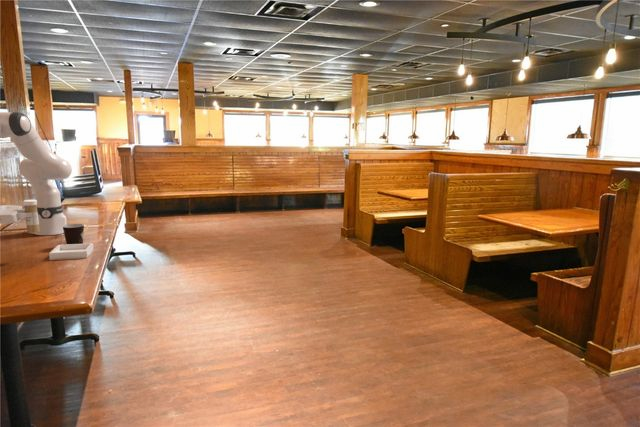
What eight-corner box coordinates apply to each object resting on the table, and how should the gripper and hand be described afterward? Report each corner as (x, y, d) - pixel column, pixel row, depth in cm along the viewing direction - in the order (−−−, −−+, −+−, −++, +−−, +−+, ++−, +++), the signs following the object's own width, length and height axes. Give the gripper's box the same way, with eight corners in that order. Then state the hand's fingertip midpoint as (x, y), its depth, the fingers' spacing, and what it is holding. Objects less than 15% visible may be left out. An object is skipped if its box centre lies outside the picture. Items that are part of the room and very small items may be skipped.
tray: (58, 251, 192) (58, 244, 192) (93, 249, 197) (93, 243, 196) (49, 260, 179) (49, 253, 179) (87, 258, 183) (86, 251, 183)
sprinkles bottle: (24, 232, 177) (20, 200, 174) (35, 230, 181) (31, 198, 178) (31, 233, 175) (27, 201, 173) (42, 231, 179) (39, 199, 177)
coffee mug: (76, 249, 196) (74, 228, 194) (59, 248, 198) (58, 226, 196) (94, 243, 207) (92, 223, 205) (78, 242, 209) (77, 221, 207)
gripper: (-16, 212, 161) (28, 210, 167) (-5, 203, 179) (35, 201, 185) (-14, 228, 162) (30, 226, 168) (-3, 218, 180) (36, 216, 186)
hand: (32, 213), depth 177 cm, fingers closed on sprinkles bottle, 4 cm apart
